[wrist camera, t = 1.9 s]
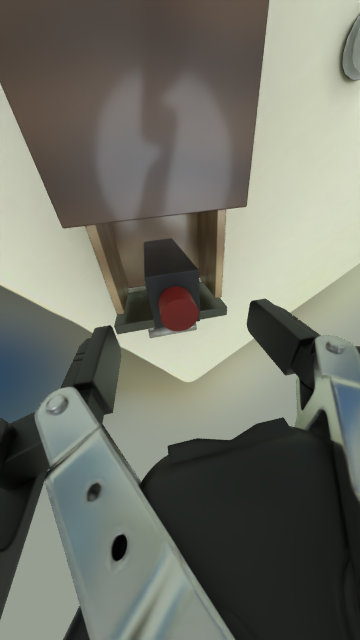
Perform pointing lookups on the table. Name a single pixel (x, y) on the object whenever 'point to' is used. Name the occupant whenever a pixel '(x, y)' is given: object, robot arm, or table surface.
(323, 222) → the table surface
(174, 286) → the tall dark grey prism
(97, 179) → the cabinet
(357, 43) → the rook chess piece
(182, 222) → the drawer
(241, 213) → the table surface
